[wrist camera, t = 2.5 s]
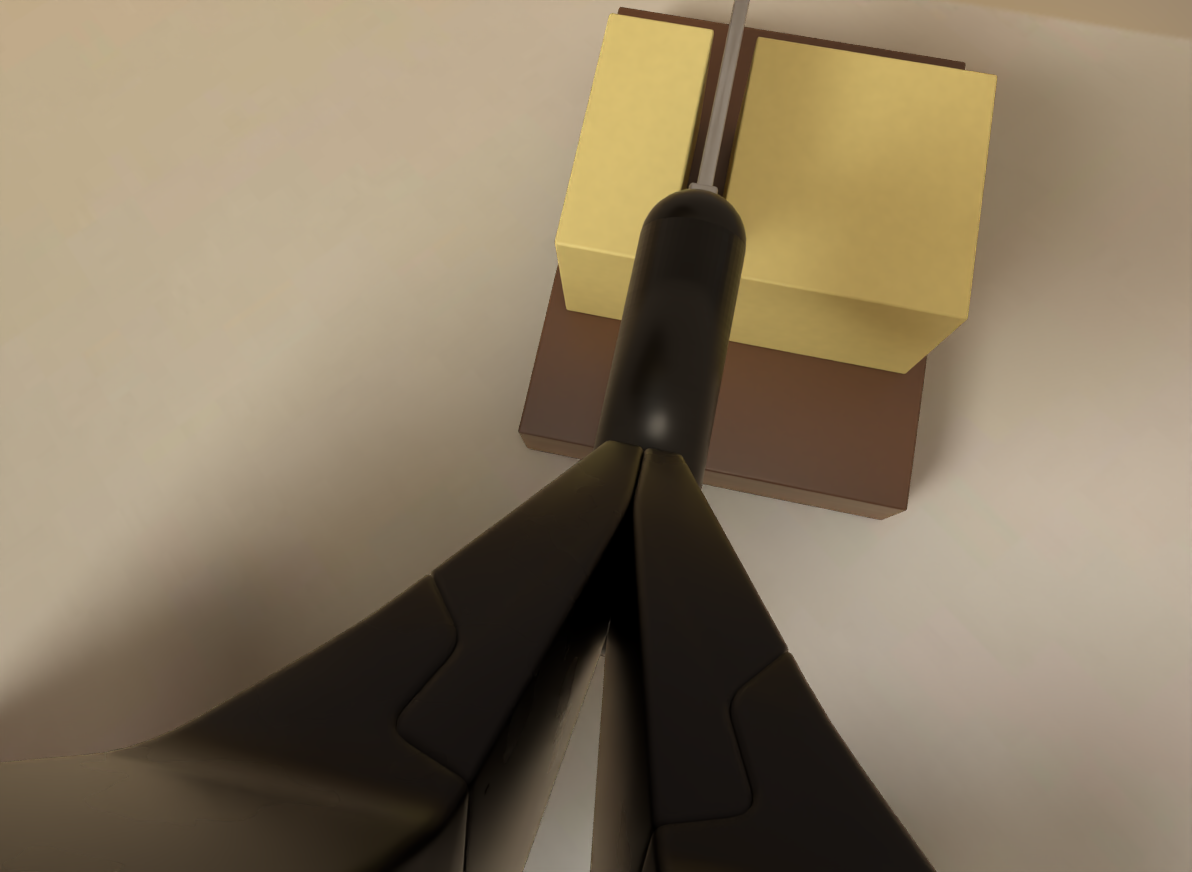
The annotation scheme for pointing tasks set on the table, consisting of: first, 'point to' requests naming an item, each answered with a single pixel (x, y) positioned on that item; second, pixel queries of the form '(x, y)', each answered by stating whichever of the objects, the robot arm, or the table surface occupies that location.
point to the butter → (792, 188)
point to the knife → (680, 306)
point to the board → (748, 372)
